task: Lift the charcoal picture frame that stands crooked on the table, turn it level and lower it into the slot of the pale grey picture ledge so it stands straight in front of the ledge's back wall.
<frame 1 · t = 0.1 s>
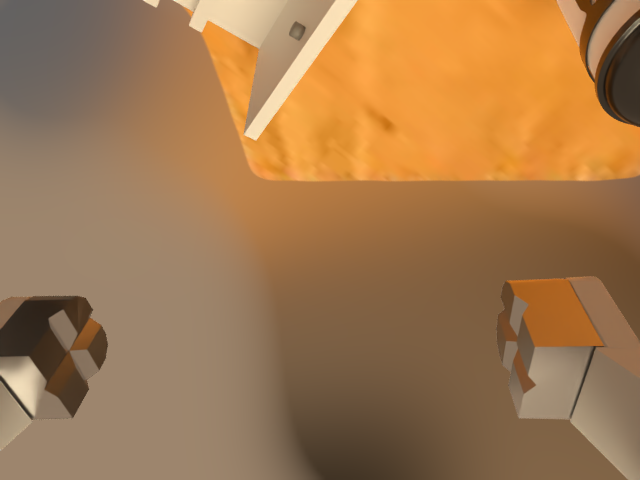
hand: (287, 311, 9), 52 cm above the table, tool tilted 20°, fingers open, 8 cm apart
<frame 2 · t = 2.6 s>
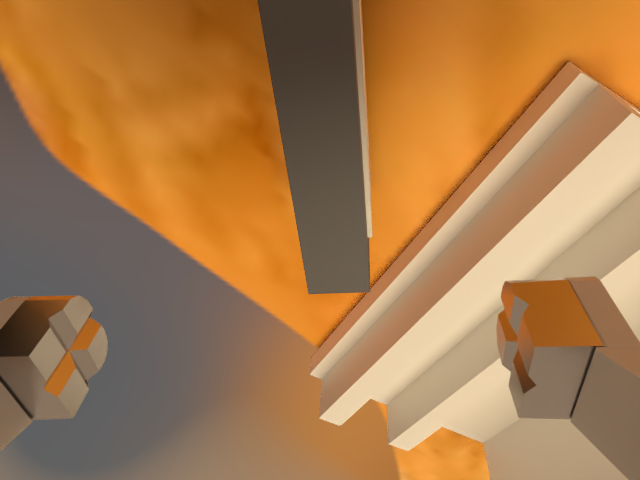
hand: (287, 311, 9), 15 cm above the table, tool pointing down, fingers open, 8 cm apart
picture ledge: (515, 299, 29), on the table
picture frame: (332, 57, 21), on the table
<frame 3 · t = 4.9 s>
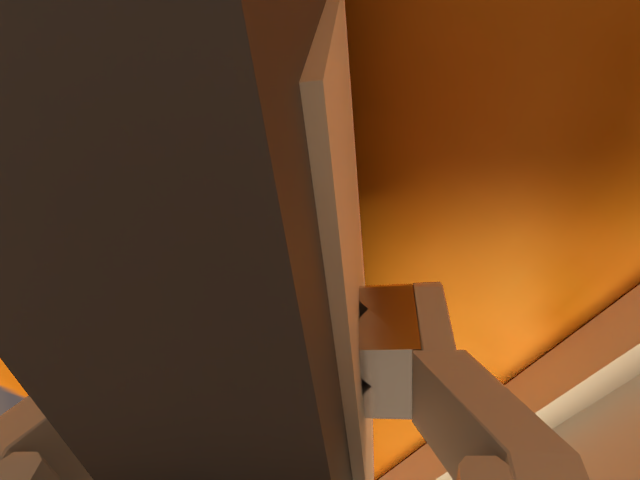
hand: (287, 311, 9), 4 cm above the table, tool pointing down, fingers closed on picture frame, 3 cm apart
picture frame: (306, 209, 12), on the table, touching gripper
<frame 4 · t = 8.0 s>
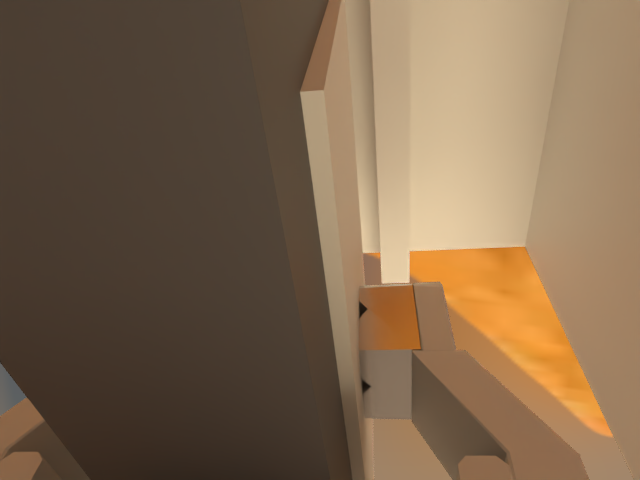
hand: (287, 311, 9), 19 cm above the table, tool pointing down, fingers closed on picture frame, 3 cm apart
picture ledge: (402, 47, 24), on the table
picture frame: (306, 212, 12), point 15 cm above the table, touching gripper
when the fingers open (7 cm above the table, at t = 11.5 s): picture frame drops 1 cm, resting on picture ledge.
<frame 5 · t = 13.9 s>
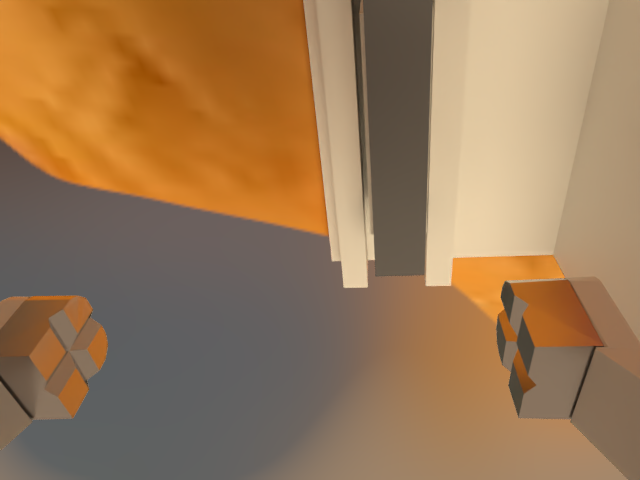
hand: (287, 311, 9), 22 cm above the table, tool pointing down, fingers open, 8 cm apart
picture ledge: (451, 79, 28), on the table
picture frame: (391, 91, 27), point 1 cm above the table, touching picture ledge
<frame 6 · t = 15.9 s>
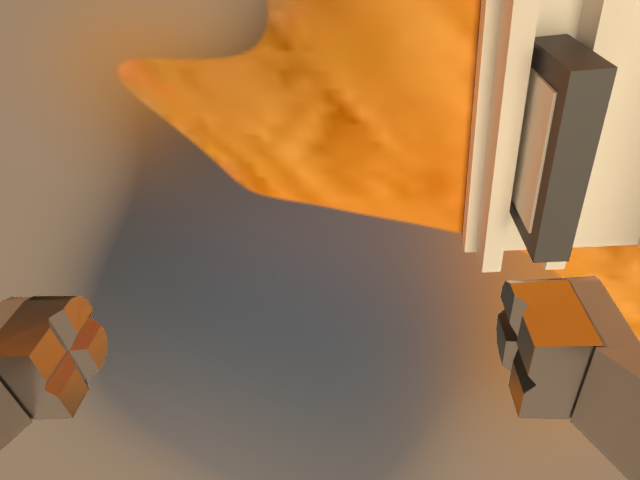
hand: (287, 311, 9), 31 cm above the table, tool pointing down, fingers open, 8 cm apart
picture ledge: (573, 118, 38), on the table
picture frame: (533, 129, 37), point 1 cm above the table, touching picture ledge
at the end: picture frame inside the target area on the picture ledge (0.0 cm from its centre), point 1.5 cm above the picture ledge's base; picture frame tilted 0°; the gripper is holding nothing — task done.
